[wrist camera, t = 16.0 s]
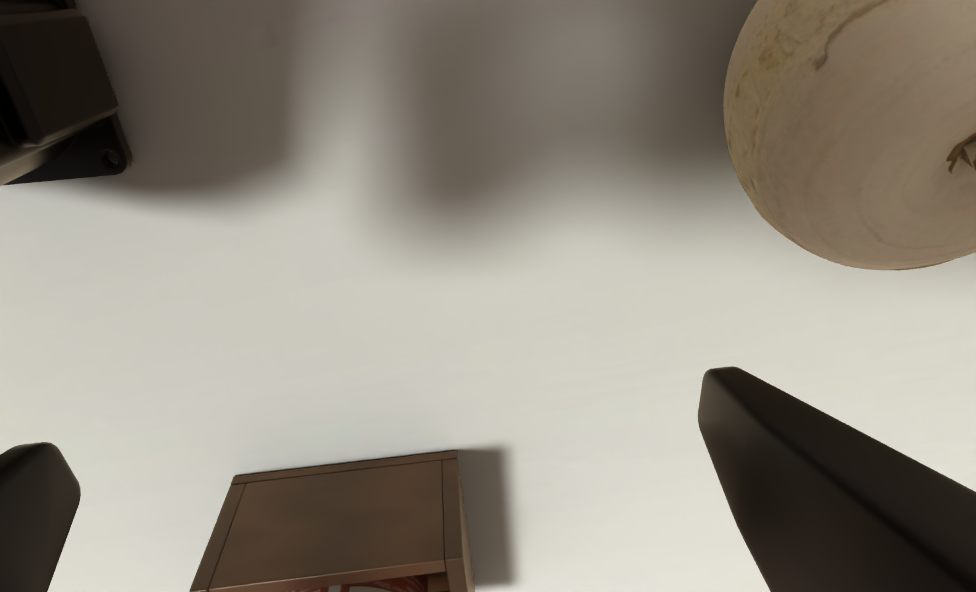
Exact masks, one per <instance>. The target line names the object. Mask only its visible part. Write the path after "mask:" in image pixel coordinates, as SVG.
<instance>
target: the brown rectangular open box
mask: <svg viewBox="0 0 976 592" xmlns="http://www.w3.org/2000/svg"><path fill="white" fill-rule="evenodd" d="M422 574H428V592H475V587H474V579H473V571H472V563H471V556H470V548H469V540H468V532H467V525H466V517H465V509H464V501H463V493H462V486H461V478H460V470H459V462H458V455H457V451H448V452H439V453H431V454H422V455H413V456H405V457H396V458H388V459H379V460H370V461H362V462H353V463H345V464H336V465H327V466H319V467H310V468H302V469H293V470H284V471H276V472H267V473H259V474H250V475H241V476H234V477H233V480H232V482H231V486H230V488H229V491H228V493H227V496H226V498H225V501H224V504H223V506H222V509H221V511H220V514H219V516H218V519H217V522H216V524H215V527H214V529H213V532H212V534H211V537H210V540H209V542H208V545H207V547H206V550H205V552H204V555H203V557H202V560H201V563H200V565H199V568H198V570H197V573H196V575H195V578H194V581H193V583H192V586H191V588H190V592H287V591H295V590H303V589H311V588H319V587H327V586H335V585H343V584H351V583H359V582H367V581H375V580H383V579H390V578H398V577H406V576H414V575H422Z"/></svg>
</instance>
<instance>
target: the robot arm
mask: <svg viewBox="0 0 976 592" xmlns="http://www.w3.org/2000/svg"><path fill="white" fill-rule="evenodd" d="M117 107H118V102H117V99H116V96H115V93H114V91H113V88H112V85H111V83H110V80H109V77H108V75H107V72H106V69H105V66H104V64H103V61H102V58H101V56H100V53H99V50H98V48H97V45H96V42H95V40H94V37H93V34H92V31H91V29H90V26H89V23H88V21H87V19H86V17H85V16H84V15H82V14H81V13H80V12H79V11H78V10H77V8H76V5H75V2H74V0H0V186H2V185H10V184H21V183H32V182H42V181H53V180H64V179H75V178H86V177H97V176H108V175H116V174H120V173H122V172H124V171H125V170H127V169H128V168H129V167H130V166H131V164H132V161H133V160H132V154H131V151H130V149H129V146H128V143H127V141H126V138H125V135H124V133H123V130H122V127H121V125H120V122H119V119H118V117H117V114H116V109H117ZM107 151H111V152H112V153H114V154H115V155H116V156H117V158H118V164H117V163H113V162H112V161H110V160H109V158H108V157H107ZM698 423H699V428H700V431H701V434H702V436H703V439H704V441H705V444H706V447H707V449H708V452H709V454H710V457H711V460H712V462H713V465H714V467H715V470H716V473H717V475H718V478H719V480H720V483H721V486H722V488H723V491H724V493H725V496H726V499H727V501H728V504H729V506H730V509H731V512H732V514H733V516H734V519H735V521H736V524H737V526H738V528H739V530H740V532H741V534H742V536H743V539H744V541H745V543H746V545H747V547H748V549H749V550H750V552H751V554H752V556H753V558H754V560H755V562H756V564H757V566H758V568H759V570H760V572H761V574H762V576H763V578H764V580H765V582H766V583H767V585H768V587H769V589H770V591H771V592H976V492H975V491H973V490H971V489H969V488H967V487H965V486H963V485H961V484H959V483H958V482H956V481H954V480H952V479H950V478H948V477H946V476H944V475H942V474H940V473H938V472H937V471H935V470H933V469H931V468H929V467H927V466H925V465H923V464H921V463H919V462H917V461H916V460H914V459H912V458H910V457H908V456H906V455H904V454H902V453H900V452H898V451H896V450H895V449H893V448H891V447H889V446H887V445H885V444H883V443H881V442H879V441H877V440H875V439H874V438H872V437H870V436H868V435H866V434H864V433H862V432H860V431H858V430H856V429H854V428H853V427H851V426H849V425H847V424H845V423H843V422H841V421H839V420H837V419H835V418H833V417H832V416H830V415H828V414H826V413H824V412H822V411H820V410H818V409H816V408H814V407H812V406H811V405H809V404H807V403H805V402H803V401H801V400H799V399H797V398H795V397H793V396H791V395H790V394H788V393H786V392H784V391H782V390H780V389H778V388H776V387H774V386H772V385H770V384H769V383H767V382H765V381H763V380H761V379H759V378H757V377H755V376H753V375H751V374H749V373H748V372H746V371H744V370H742V369H740V368H737V367H723V368H714V369H709V370H708V371H706V373H705V374H704V377H703V382H702V389H701V396H700V403H699V410H698ZM80 496H81V493H80V486H79V483H78V481H77V479H76V477H75V476H74V474H73V472H72V471H71V469H70V467H69V466H68V464H67V462H66V460H65V459H64V457H63V455H62V454H61V452H60V450H59V449H58V448H57V447H56V446H55V445H53V444H52V443H47V442H42V443H33V444H24V445H18V446H15V447H13V448H11V449H9V450H7V451H6V452H4V453H2V454H1V455H0V592H47V591H48V588H49V585H50V582H51V580H52V577H53V574H54V571H55V569H56V566H57V563H58V560H59V558H60V555H61V552H62V549H63V547H64V544H65V541H66V538H67V536H68V533H69V530H70V527H71V524H72V522H73V519H74V516H75V513H76V511H77V508H78V505H79V502H80Z"/></svg>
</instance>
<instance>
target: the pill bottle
mask: <svg viewBox="0 0 976 592" xmlns="http://www.w3.org/2000/svg"><path fill="white" fill-rule="evenodd" d="M287 592H428V574H422V575H414V576H406V577H398V578H390V579H383V580H375V581H367V582H359V583H351V584H343V585H335V586H327V587H319V588H311V589H303V590H295V591H287Z"/></svg>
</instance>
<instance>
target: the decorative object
mask: <svg viewBox="0 0 976 592" xmlns="http://www.w3.org/2000/svg"><path fill="white" fill-rule="evenodd" d="M723 109H724V126H725V134H726V139H727V144H728V149H729V152H730V156H731V159H732V162H733V165H734V167H735V170H736V172H737V176H738V179H739V181H740V183H741V185H742V186H743V188H744V190H745V192H746V193H747V195H748V196H749V198H750V199H751V201H752V203H753V205H754V206H755V208H756V210H757V211H758V212H759V214H760V215H761V216H762V217H763V218H764V219H765V220H766V221H767V222H768V223H769V224H770V225H771V226H773V227H774V228H775V229H776V230H777V231H779V232H780V233H781V234H783V235H784V236H785V237H787V238H788V239H790V240H791V241H793V242H794V243H796V244H797V245H798V246H800V247H802V248H803V249H805V250H807V251H809V252H811V253H813V254H815V255H817V256H820V257H822V258H824V259H827V260H829V261H832V262H835V263H838V264H842V265H845V266H850V267H856V268H862V269H873V270H908V269H916V268H923V267H929V266H934V265H938V264H941V263H945V262H948V261H951V260H953V259H956V258H960V257H963V256H966V255H969V254H972V253H974V252H976V0H758V1H757V2H756V4H755V6H754V7H753V9H752V10H751V12H750V14H749V16H748V18H747V20H746V22H745V24H744V25H743V27H742V29H741V31H740V34H739V36H738V39H737V41H736V43H735V46H734V49H733V52H732V55H731V58H730V62H729V66H728V70H727V75H726V81H725V88H724V105H723Z"/></svg>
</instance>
